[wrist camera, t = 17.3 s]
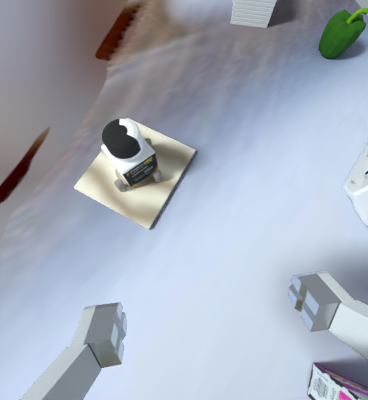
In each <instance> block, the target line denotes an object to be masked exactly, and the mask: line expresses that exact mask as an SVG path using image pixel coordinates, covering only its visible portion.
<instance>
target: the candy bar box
mask: <svg viewBox="0 0 368 400" xmlns="http://www.w3.org/2000/svg"><path fill="white" fill-rule="evenodd" d="M307 395H308V396H309V397H310V398H311V399H312V400H368V388H366V387H364V386H362V385H359V384H357V383H355V382H353V381H351V380H349V379H346V378H344V377H342V376H340V375H338V374H336V373H334V372H331V371H329V370H327V369H325V368H323V367H321V366H319V365H316V364H314V363H313V366H312V371H311V377H310V382H309V386H308V393H307Z"/></svg>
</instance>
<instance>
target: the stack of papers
mask: <svg viewBox="0 0 368 400" xmlns="http://www.w3.org/2000/svg"><path fill="white" fill-rule="evenodd" d="M276 1H277V0H233V6H232V15H231V24H239V25H248V26H256V27H265V28H267V26H268V23H269V20H270V18H271V15H272V12H273V9H274V6H275V3H276Z"/></svg>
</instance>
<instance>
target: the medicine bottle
mask: <svg viewBox="0 0 368 400" xmlns="http://www.w3.org/2000/svg"><path fill="white" fill-rule="evenodd" d="M102 140H103V143H104V145H102V146H101V148H102V150H103V151H104V153H105V154H106V156H107V157H108V159H109V160H110V162H111V163H112V165H113V166H114V167H115V168H116V170H117V171H118V172H119V174H120V175H121V176H122V177H123V179H124V180H125V181H126V182H127V184H128V185H129V186H130V187H131V188H133V187H135V186H136V185H137V184H139V183H140V182H142V181H143V180H144V179H146V178H147V177H149V176H150V175H151V174H152V172H153V170H155V169H159V167H158V163H157V159H156V154H155V151H154V150H153V149H152V148H151V146H150V145H149V144H148V143H147V142H146V141H145V140H144V138H143V137H142V136H141V133H140V130H139V128H138V126H137V125H136V124H135V123H134V122H133V121H131V120H128V119H117V120H114V121H112V122H110V123H109V124H107V126H106V127H105V128H104V130H103V133H102Z"/></svg>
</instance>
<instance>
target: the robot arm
mask: <svg viewBox="0 0 368 400" xmlns="http://www.w3.org/2000/svg"><path fill="white" fill-rule="evenodd" d="M351 182H352V183H353V184H352V183H351ZM342 187H343V190H344V191H345V192H346V194H347V195H348V196H349V197H350V198H351V200H352V202H353V205H354V208H355V210H356V212H357V214H358V215H359V217H360V218H361V220H362V221H363V222H364V223H365V224H366V225H367V226H368V144H367V145H366V147H365V149H364V150H363V152H362V153H361V155H360V157H359V158H358V160H357V162H356V163H355V165H354V167H353V168H352V170H351V171H350V173H349V175H348V176H347V178H346V180H345V181H344V183H343V185H342ZM291 282H292V285H291V286H290V287H289V291H288V294H289V298H290V301H291V303H292V305H293V306H294V308H295V309H297V310H298V311H300V312H301V319H302V320H303V322H304V323H305V325H306V326H307V328H308V329H309V331H310V332H313V331H321V330H328V329H329V331H330V332H331V333H333V334H334V335H335V336H337V337H338V338H339V339H340V340H342V341H343V342H344V343H346V344H347V345H348V346H350V347H351V348H352V349H354V350H355V351H356V352H357V353H359V354H360V355H361V356H363V357H364V358H365V359H367V360H368V305H367V304H365V303H363V302H361V301H359V300H354V299H353V298H352V297H351V296H350V295H349V294H348V293H347V292H346V291H345V290H344V289H343V288H342V287H341V286H340V285H339V284H338V283H337V282H336V281H335V280H334V279H333V278H332V277H331V276H330V275H329V274H328V273H327V272H326V271H318V272H310V273H304V274H299V275H293V276H292V277H291ZM122 308H123V306H122V304H121V302H119V303H111V304H103V305H95V306H88V307H86V308H85V309H84V311H83V313H82V316H81V318H80V321H79V324H78V327H77V329H76V332H75V335H74V337H73V340H72V343H71V346H70V347H67V348H66V349H65V350H64V351H63V352H62V353H61V354H60V355H59V356H58V357H57V359H56V360H55V361H54V362H53V363H52V364H51V365H50V366H49V367H48V369H47V370H46V371H45V372H44V373H43V374H42V375H41V376H40V377H39V378H38V380H37V381H36V382H35V383H34V384H33V385H32V386H31V387H30V388H29V390H28V391H27V392H26V393H25V394H24V395H23V396H22V397H21V398H20V400H83V399H84V397H85V395H86V394H87V392H88V390H89V389H90V387H91V386H92V384H93V382H94V381H95V379H96V377H97V376H98V374H99V373H100V371H101V368H104V367H109V366H114V365H119V364H122V358H123V351H124V345H123V342H122V340H123V339H124V337H125V336H126V330H127V320H126V315H125V313H124V312H122Z"/></svg>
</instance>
